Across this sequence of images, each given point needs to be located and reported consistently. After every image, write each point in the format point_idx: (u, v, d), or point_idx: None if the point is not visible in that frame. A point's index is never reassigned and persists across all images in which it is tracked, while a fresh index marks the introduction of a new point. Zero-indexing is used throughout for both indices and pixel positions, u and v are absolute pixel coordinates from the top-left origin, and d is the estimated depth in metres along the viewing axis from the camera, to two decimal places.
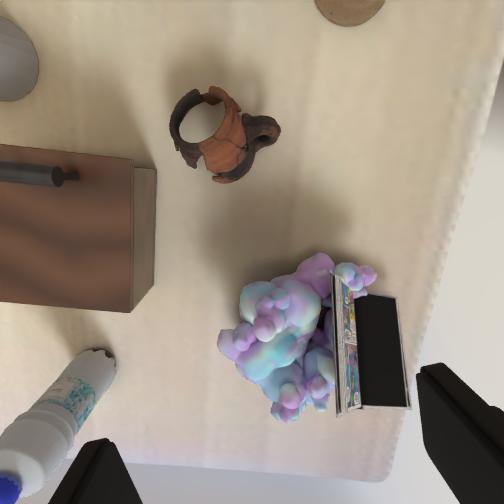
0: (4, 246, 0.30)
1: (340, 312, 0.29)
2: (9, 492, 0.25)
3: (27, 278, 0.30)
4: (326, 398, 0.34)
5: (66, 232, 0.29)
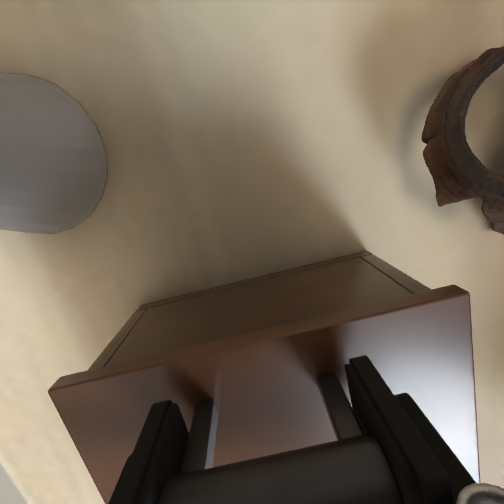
0: None
1: None
2: None
3: None
4: None
5: None
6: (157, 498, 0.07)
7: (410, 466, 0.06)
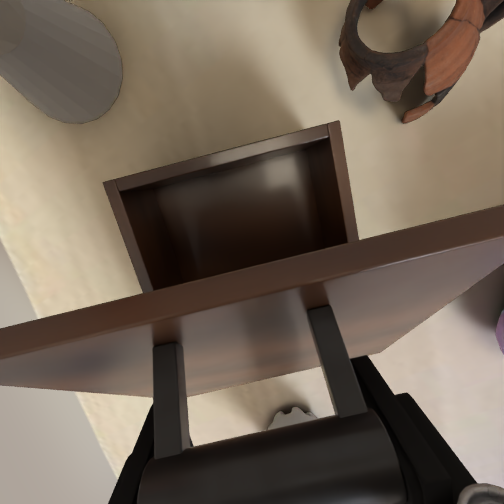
0: None
1: None
2: None
3: (225, 382, 0.18)
4: None
5: (287, 352, 0.13)
6: None
7: (410, 466, 0.06)
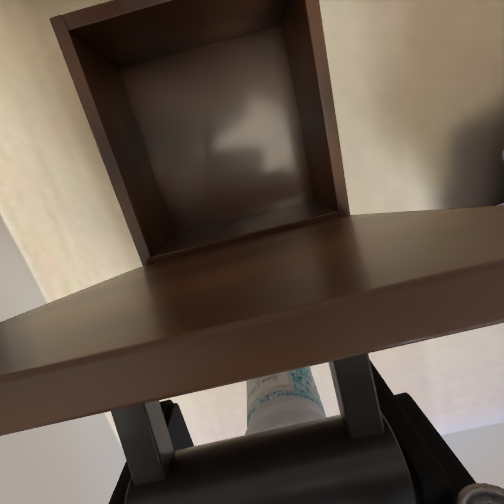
0: None
1: None
2: None
3: None
4: None
5: None
6: None
7: (409, 466, 0.06)
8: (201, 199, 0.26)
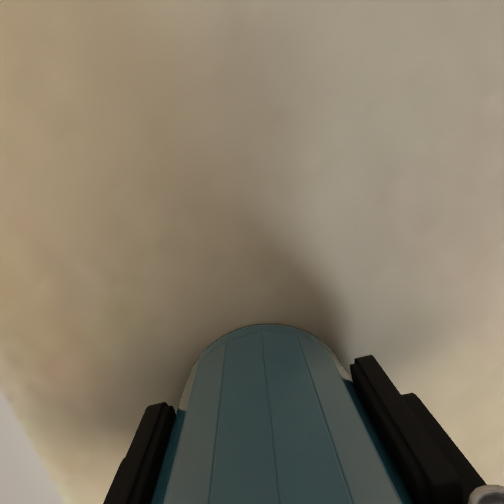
0: None
1: None
2: None
3: None
4: None
5: None
6: (150, 502, 0.07)
7: (419, 467, 0.06)
8: None
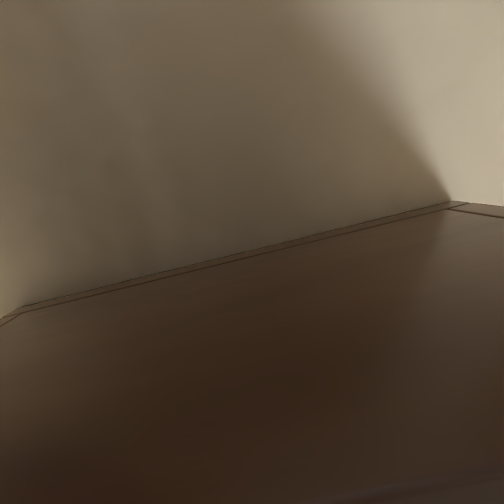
0: None
1: None
2: None
3: None
4: None
5: None
6: None
7: None
8: None
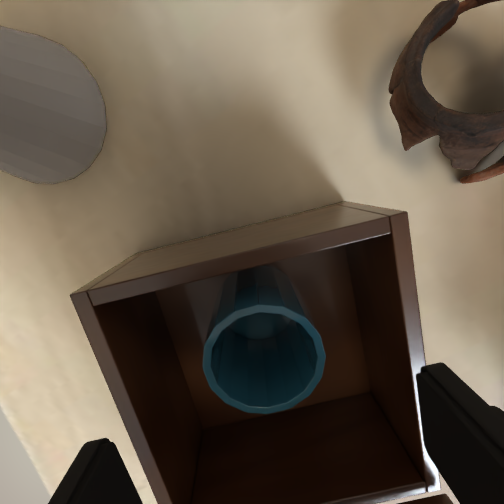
0: None
1: None
2: None
3: None
4: None
5: None
6: None
7: None
8: None
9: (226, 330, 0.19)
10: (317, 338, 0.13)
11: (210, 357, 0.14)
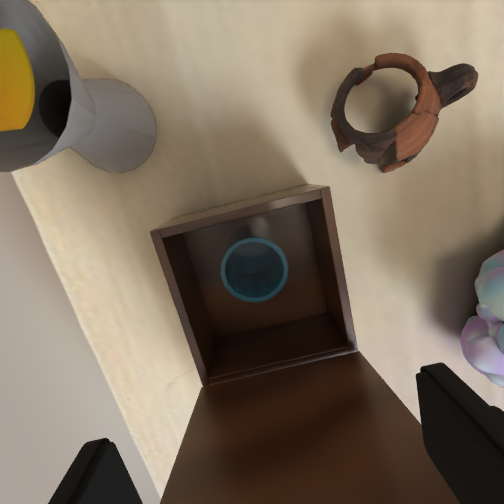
0: None
1: None
2: None
3: None
4: None
5: None
6: None
7: None
8: (238, 313, 0.33)
9: (232, 266, 0.30)
10: (283, 257, 0.24)
11: (224, 268, 0.25)
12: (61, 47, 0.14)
